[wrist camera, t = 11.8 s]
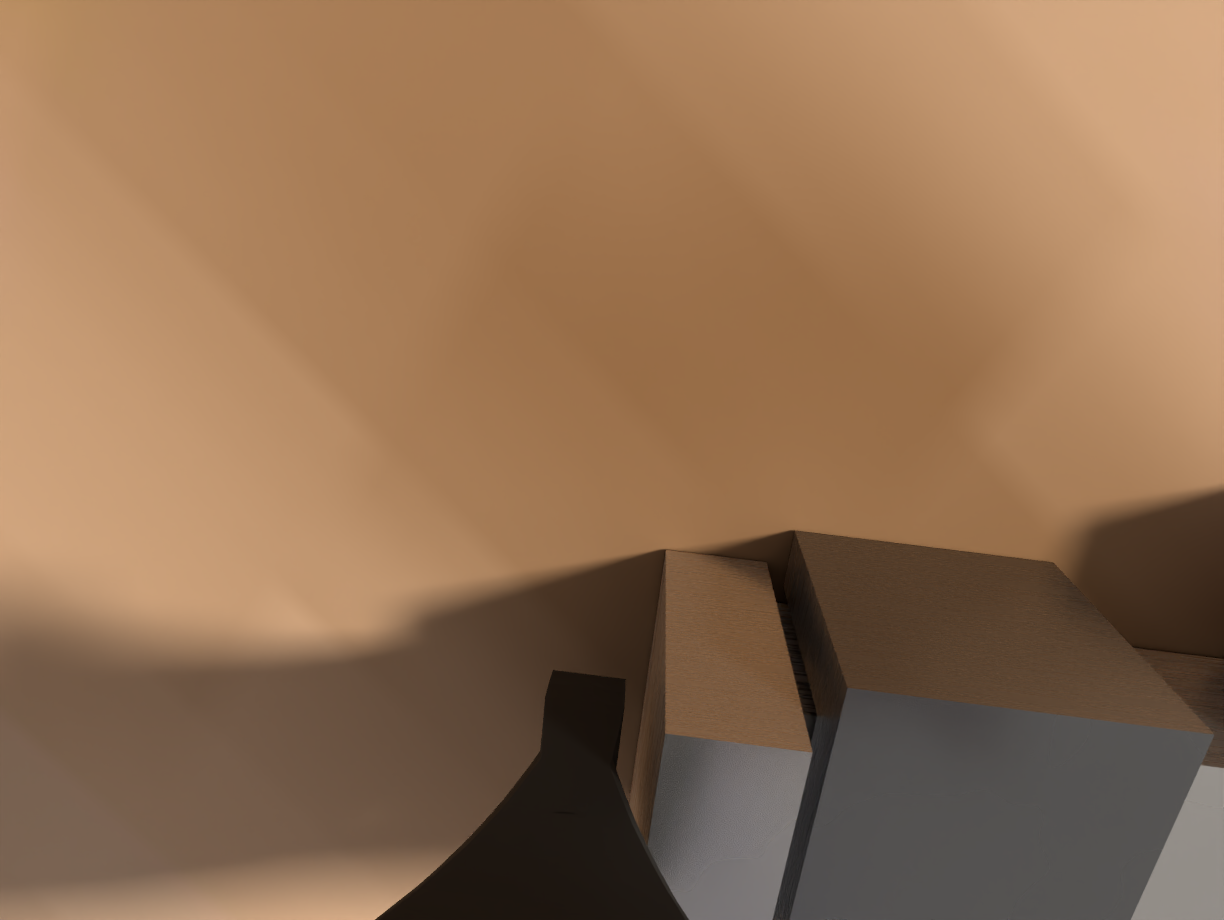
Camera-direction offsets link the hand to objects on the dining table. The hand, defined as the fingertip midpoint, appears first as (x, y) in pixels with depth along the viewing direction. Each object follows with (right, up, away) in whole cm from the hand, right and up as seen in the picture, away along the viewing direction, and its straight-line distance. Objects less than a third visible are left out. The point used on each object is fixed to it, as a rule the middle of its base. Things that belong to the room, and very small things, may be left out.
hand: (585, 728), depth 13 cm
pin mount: (+5, 0, +1) cm, 5 cm away
